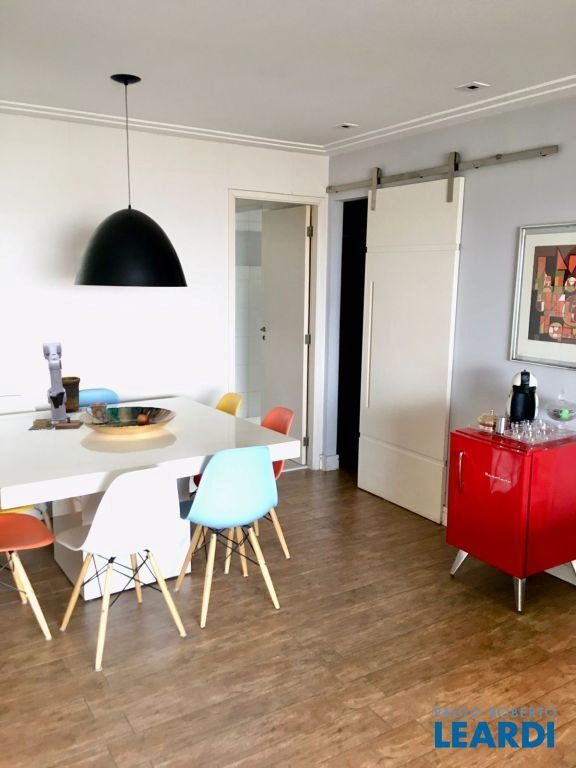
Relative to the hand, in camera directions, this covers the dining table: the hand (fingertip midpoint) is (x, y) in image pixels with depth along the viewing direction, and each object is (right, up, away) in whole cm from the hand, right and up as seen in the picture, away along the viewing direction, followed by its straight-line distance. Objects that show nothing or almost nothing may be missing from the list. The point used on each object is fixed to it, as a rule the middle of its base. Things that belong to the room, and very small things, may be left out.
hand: (58, 406), depth 361 cm
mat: (-7, -11, -3) cm, 13 cm away
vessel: (-6, -4, +36) cm, 37 cm away
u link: (-7, -10, -3) cm, 13 cm away
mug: (+20, -9, +4) cm, 22 cm away
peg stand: (+7, -10, -3) cm, 13 cm away
